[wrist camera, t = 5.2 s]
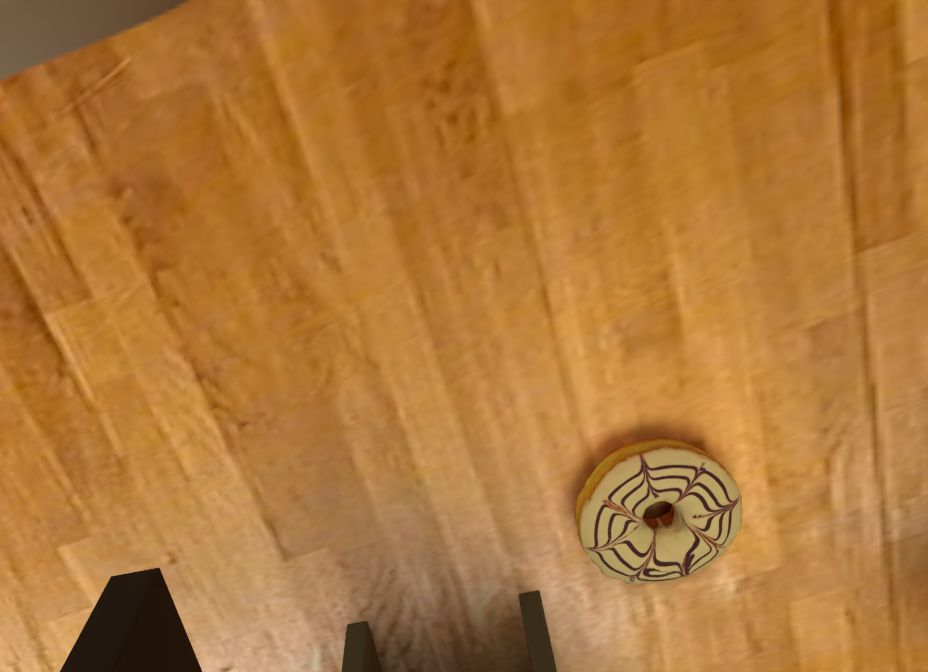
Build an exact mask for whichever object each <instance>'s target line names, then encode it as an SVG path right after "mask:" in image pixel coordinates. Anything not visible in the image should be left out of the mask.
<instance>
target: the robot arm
mask: <svg viewBox="0 0 928 672" xmlns="http://www.w3.org/2000/svg"><path fill="white" fill-rule="evenodd" d="M60 672H202V670H201V668H200V665H199V663H198V660H197V658H196V655H195V653H194V651H193V648H192V646H191V643H190V641H189V638H188V636H187V634H186V631H185V629H184V626H183V624H182V621H181V619H180V617H179V614H178V612H177V609H176V607H175V605H174V602H173V600H172V597H171V595H170V592H169V590H168V588H167V585H166V583H165V580H164V578H163V575H162V573H161V571H160V568H155V569H150V570H144V571H139V572H134V573H128V574H123V575H117V576H112V577H111V578H110V580H109V582H108V583H107V585H106V587H105V589H104V591H103V593H102V595H101V596H100V598H99V600H98V602H97V604H96V606H95V608H94V609H93V611H92V613H91V615H90V617H89V619H88V621H87V622H86V624H85V626H84V628H83V630H82V632H81V634H80V636H79V637H78V639H77V641H76V643H75V645H74V647H73V649H72V650H71V652H70V654H69V656H68V658H67V660H66V662H65V663H64V665H63V667H62V669H61V671H60Z"/></svg>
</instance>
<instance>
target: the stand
mask: <svg viewBox="0 0 928 672" xmlns="http://www.w3.org/2000/svg"><path fill="white" fill-rule="evenodd" d="M519 599H520V604H521V610H522V616H523V621H524V627H525V632H526V638H527V644H528V649H529V655H530V660H531V666H532V672H557V670H556V665H555V661H554V656H553V651H552V647H551V642H550V637H549V633H548V628H547V624H546V619H545V614H544V610H543V605H542V600H541V596H540V592H539V591H536V592H530V593H524V594H519ZM342 672H381V668H380V665H379V661H378V658H377V654H376V650H375V647H374V643H373V640H372V636H371V633H370V629H369V626H368V622H361V623H355V624H349V625H347V631H346V639H345V647H344V656H343V664H342Z"/></svg>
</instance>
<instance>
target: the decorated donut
mask: <svg viewBox="0 0 928 672" xmlns="http://www.w3.org/2000/svg"><path fill="white" fill-rule="evenodd" d="M660 501H666V502H668V503H671V504H672V508H671V510H670V511H669V512H668V513H667V514H664V515H663V516H661V517H657V518H654V519H653V518H652V519H645V518H643V515H644V512H645V509H646V508H647V507H648V506H650V505H652V504H654V503H656V502H660ZM575 514H576V522H577V526H578V536H579V539H580V542H581V545H582V547H583V549H584V550H585V551H586V553H587V554H588V556H589V557H590V558H591V560H592V561H593V562H594V563H595V564H596V565H597V566H598V567H599V568H600V569H601V571H602V573H603V574H604V575H606V576H608V577H611V578H614V579H621V580H624V581H625V582H626V583H629V584H643V583H661V582H668V581H674V580H677V579H681V578H684V577H687V576H689V575H692V574H694V573H696V572H697V571H699V570H701V569H704V568H705V567H707V566H709V565H710V564H711V563H713V562H714V561H715V560H716V559H717V558H718V557H719V556H720V555H721V554H723V553H724V552H725V551H726V550H727V549H728V547H729V546H730V545H731V543H732V542H733V540H734V538H735V536H736V535H737V534H738V532H739V530H740V527H741V521H742V496H741V493H740V491H739V489H738V486H737V484H736V482H735V480H734V479H733V478H732V477H731V476H730V474H729V473H728V472H727V471H726V469H725V468H724V467H723V466H722V465H721V464H720V463H719V462H718V461H717V460H716V459H714V458H713V457H712V456H711V455H709V454H708V453H706V452H704V451H702V450H701V449H699V448H697V447H695V446H692V445H690V444H687V443H684V442H680V441H676V439H675V440H673V439H672V440H670V439H669V440H668V439H650V440H643V441H640V442H636V443H633V444H629V445H626V446H623V447H621V448H619V449H618V450H616V451H613V452H612V453H610V454H609V455H608V456H607V457H606V458H604V459H603V460H602V462H601V463H600V464H599V465H598V466H597V468H596V469H595V470H594V471H593V473H592V474H591V476H590V477H589V478H588V480H587V481H586V482H585V484H584V487H583V489H582V491H581V493H580V494H579V496H578V499H577V506H576V513H575Z"/></svg>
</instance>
